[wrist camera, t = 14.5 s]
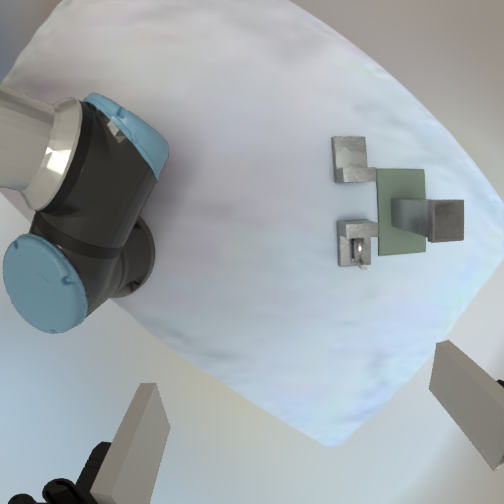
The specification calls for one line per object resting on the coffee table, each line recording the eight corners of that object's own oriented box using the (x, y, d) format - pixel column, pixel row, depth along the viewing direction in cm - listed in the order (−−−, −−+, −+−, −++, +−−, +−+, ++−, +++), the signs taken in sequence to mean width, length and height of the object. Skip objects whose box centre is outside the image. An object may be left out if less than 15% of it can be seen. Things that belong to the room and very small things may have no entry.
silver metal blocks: (338, 264, 51) (348, 273, 45) (331, 138, 47) (341, 132, 42) (367, 262, 51) (380, 271, 45) (361, 138, 47) (374, 132, 41)
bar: (389, 228, 49) (432, 242, 36) (388, 196, 48) (432, 200, 35) (416, 226, 49) (463, 240, 35) (415, 195, 48) (463, 200, 35)
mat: (378, 255, 51) (379, 256, 50) (375, 169, 48) (376, 168, 48) (424, 251, 50) (425, 252, 50) (423, 169, 48) (424, 169, 47)
